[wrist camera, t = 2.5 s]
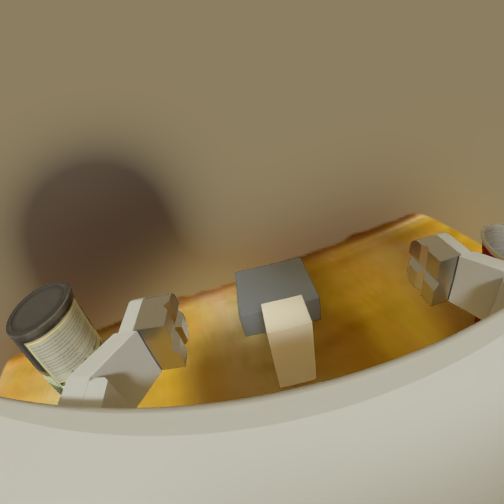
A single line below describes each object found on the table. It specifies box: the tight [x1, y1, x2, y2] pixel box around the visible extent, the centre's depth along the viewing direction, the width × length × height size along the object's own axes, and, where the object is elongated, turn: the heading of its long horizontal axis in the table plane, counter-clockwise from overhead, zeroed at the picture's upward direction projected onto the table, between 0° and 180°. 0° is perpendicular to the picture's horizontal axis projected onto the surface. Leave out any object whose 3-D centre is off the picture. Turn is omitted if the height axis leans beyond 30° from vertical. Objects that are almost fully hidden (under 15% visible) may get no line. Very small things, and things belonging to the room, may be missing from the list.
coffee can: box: [6, 281, 104, 394], centre depth 28 cm, size 10×10×14 cm
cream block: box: [261, 295, 316, 388], centre depth 28 cm, size 4×4×9 cm
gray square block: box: [235, 257, 321, 336], centre depth 40 cm, size 10×10×4 cm
